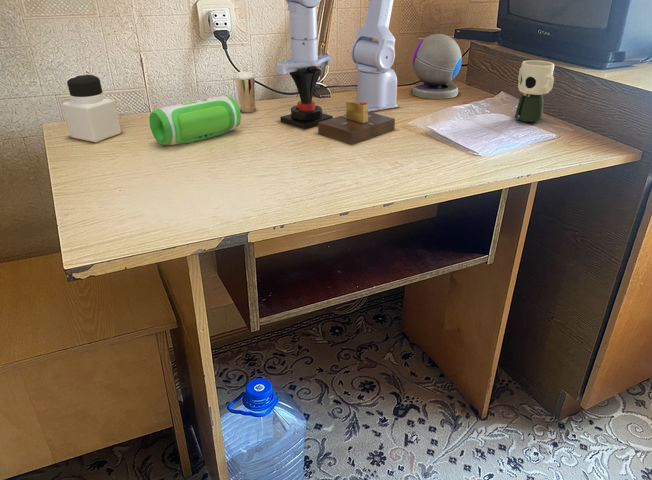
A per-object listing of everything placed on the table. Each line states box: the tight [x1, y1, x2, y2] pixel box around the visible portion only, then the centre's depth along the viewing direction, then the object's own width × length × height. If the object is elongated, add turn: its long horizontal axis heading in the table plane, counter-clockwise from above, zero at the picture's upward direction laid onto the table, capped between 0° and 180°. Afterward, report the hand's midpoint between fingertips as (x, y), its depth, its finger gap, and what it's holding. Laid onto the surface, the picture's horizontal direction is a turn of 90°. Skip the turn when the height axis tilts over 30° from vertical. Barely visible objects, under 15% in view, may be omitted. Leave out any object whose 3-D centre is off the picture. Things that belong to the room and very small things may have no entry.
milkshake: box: [234, 64, 256, 113], centre depth 130 cm, size 4×5×10 cm
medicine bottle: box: [61, 74, 122, 143], centre depth 112 cm, size 7×7×12 cm
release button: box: [296, 100, 316, 111], centre depth 124 cm, size 4×4×2 cm
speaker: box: [149, 95, 242, 146], centre depth 113 cm, size 18×7×8 cm, turn 135°
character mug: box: [514, 59, 555, 123], centre depth 126 cm, size 11×7×13 cm, turn 26°
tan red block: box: [345, 99, 368, 123], centre depth 118 cm, size 5×2×4 cm, turn 47°
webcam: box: [412, 33, 463, 100], centre depth 146 cm, size 13×13×15 cm
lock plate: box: [317, 111, 396, 145], centre depth 119 cm, size 14×10×3 cm
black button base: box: [280, 104, 334, 130], centre depth 125 cm, size 9×8×3 cm
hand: (306, 102), depth 124 cm, fingers closed
